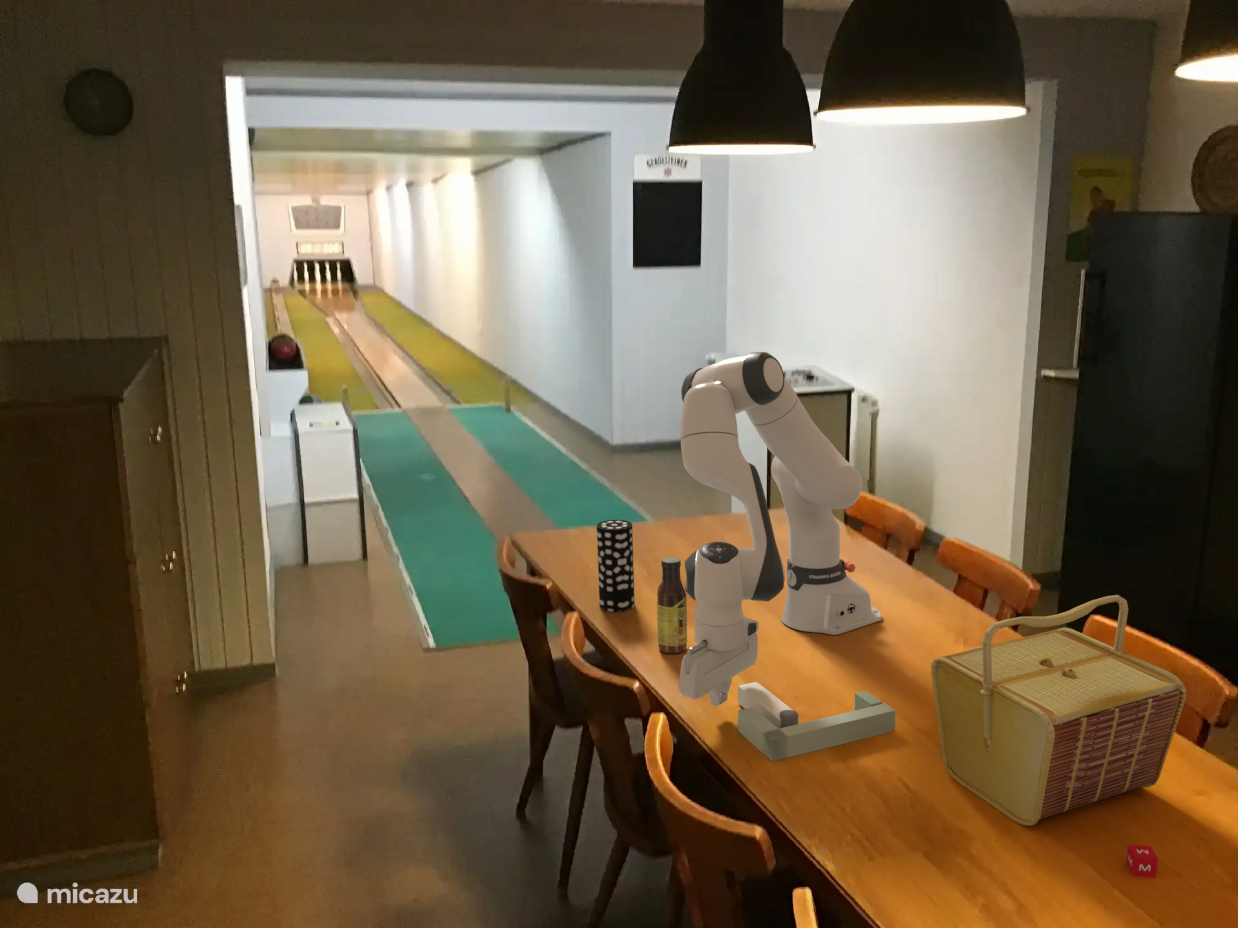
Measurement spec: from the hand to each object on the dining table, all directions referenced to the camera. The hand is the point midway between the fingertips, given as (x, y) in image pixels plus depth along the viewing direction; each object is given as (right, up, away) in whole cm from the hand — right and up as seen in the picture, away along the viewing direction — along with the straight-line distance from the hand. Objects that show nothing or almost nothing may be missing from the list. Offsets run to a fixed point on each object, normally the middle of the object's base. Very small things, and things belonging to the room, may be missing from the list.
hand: (719, 702), depth 196 cm
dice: (+54, -13, -48) cm, 73 cm away
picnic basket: (+50, -8, -25) cm, 57 cm away
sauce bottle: (-7, +4, +31) cm, 32 cm away
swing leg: (+9, -3, -2) cm, 10 cm away
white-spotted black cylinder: (-19, +10, +57) cm, 61 cm away
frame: (+17, -4, -6) cm, 18 cm away
